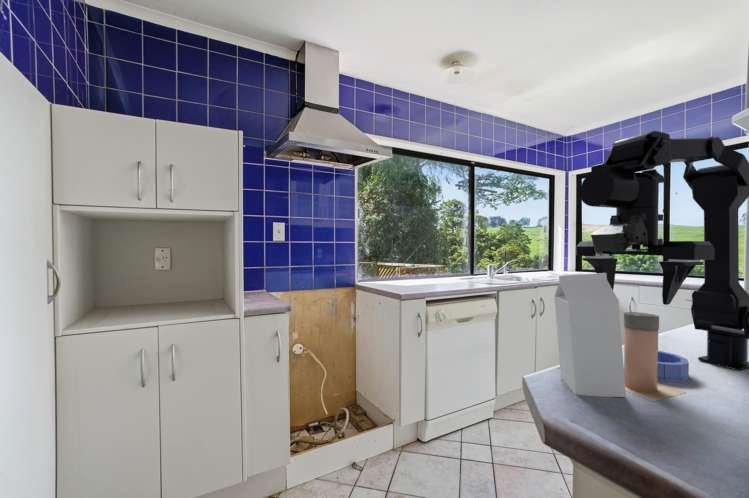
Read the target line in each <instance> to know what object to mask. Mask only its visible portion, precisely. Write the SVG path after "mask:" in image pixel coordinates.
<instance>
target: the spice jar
mask: <svg viewBox="0 0 749 498" xmlns="http://www.w3.org/2000/svg"><path fill="white" fill-rule="evenodd" d="M623 327H624V328H623V331H624V332H623V333H624V335H623V339H624V340H623V343H624V344H623V365H624V378H625V386H626V387H628V388H630V389H632V390H635V391H639V392H645V393H655V392H657V391H658V382H659V380H658V351H659V330H660V316H659V315H656V314H652V313H647V312H638V311H637V312H635V311H626V312H623Z"/></svg>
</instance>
